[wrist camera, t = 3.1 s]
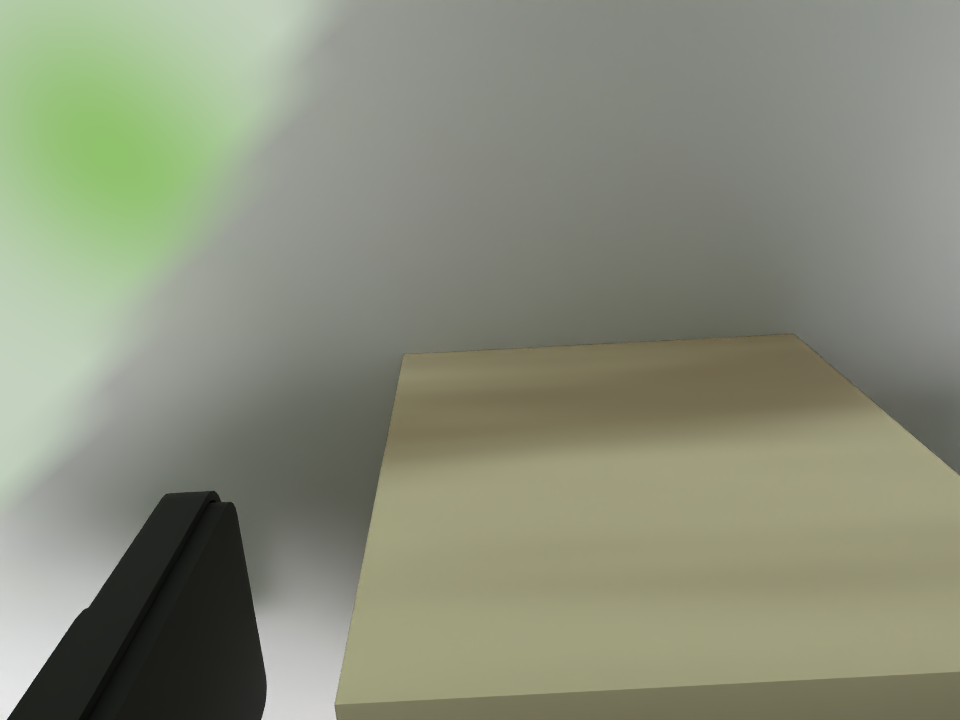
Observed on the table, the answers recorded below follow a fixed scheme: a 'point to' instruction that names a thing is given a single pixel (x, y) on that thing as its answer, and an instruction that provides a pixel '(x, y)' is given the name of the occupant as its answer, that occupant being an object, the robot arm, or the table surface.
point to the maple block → (653, 542)
